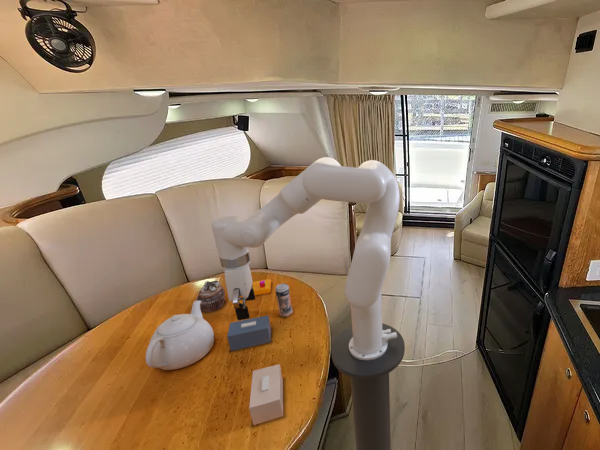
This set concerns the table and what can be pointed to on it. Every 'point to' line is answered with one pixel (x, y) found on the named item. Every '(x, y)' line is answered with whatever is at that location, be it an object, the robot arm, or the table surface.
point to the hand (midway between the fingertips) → (247, 308)
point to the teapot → (180, 341)
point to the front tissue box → (266, 394)
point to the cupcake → (211, 296)
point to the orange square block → (262, 287)
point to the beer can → (283, 299)
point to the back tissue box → (249, 333)
